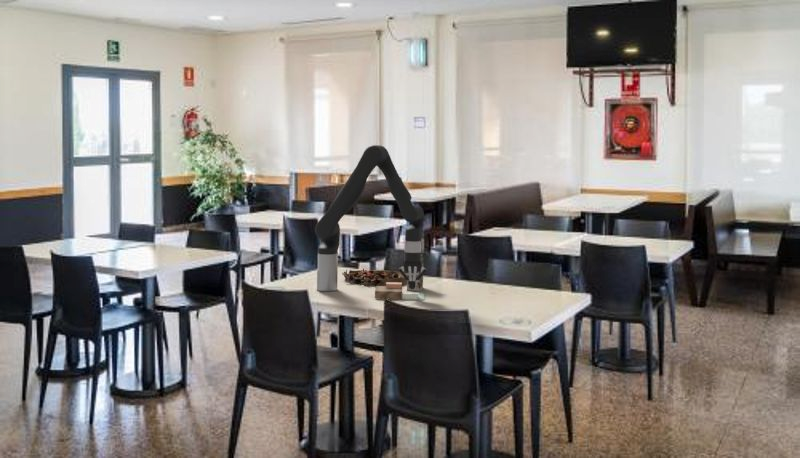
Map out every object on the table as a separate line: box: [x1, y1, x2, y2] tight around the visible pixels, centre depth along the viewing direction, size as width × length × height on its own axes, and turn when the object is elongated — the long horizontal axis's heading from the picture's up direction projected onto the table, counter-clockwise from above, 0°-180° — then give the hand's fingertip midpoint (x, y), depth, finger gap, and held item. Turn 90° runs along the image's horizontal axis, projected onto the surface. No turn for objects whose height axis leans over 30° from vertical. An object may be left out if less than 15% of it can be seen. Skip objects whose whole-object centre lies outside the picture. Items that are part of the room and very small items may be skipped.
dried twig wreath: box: [342, 267, 407, 287], centre depth 413 cm, size 35×33×8 cm
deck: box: [374, 286, 403, 300], centre depth 376 cm, size 12×12×4 cm
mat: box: [402, 292, 425, 301], centre depth 376 cm, size 10×14×1 cm
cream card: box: [401, 291, 419, 300], centre depth 372 cm, size 7×4×2 cm, turn 88°
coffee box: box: [406, 254, 424, 292], centre depth 394 cm, size 9×6×16 cm
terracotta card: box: [386, 282, 403, 290], centre depth 379 cm, size 7×4×2 cm, turn 89°
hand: (412, 289), depth 372 cm, fingers closed
